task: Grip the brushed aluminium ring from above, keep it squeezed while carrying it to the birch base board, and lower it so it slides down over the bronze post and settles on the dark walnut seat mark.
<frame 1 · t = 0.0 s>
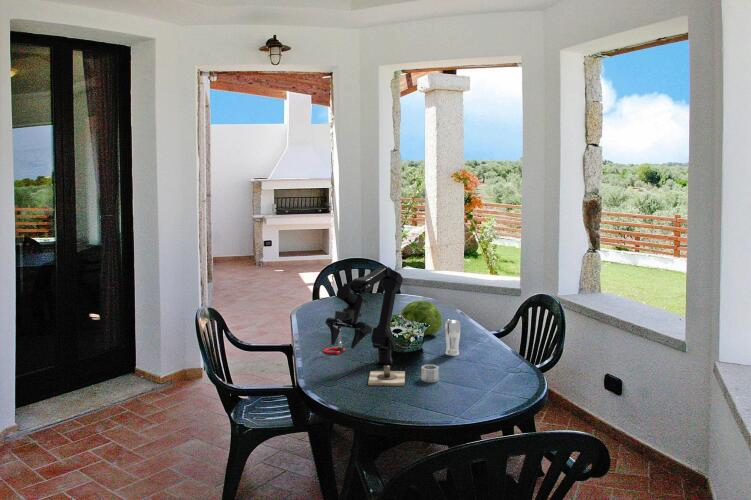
hand: (342, 346, 234), 15 cm above the table, tool tilted 35°, fingers open, 9 cm apart
birch base board: (387, 379, 241), on the table
aluminium ring: (430, 379, 240), on the table
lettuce: (418, 334, 306), on the table
tow hook: (333, 352, 279), on the table
beer glass: (452, 354, 273), on the table
bronze post: (387, 371, 240), on the birch base board, point 3 cm above the table
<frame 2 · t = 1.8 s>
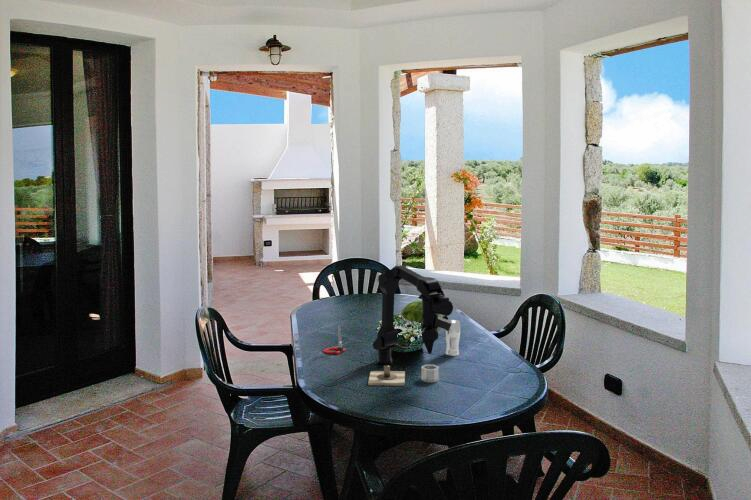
hand: (429, 350, 238), 12 cm above the table, tool pointing down, fingers open, 9 cm apart
nothing on the table moved.
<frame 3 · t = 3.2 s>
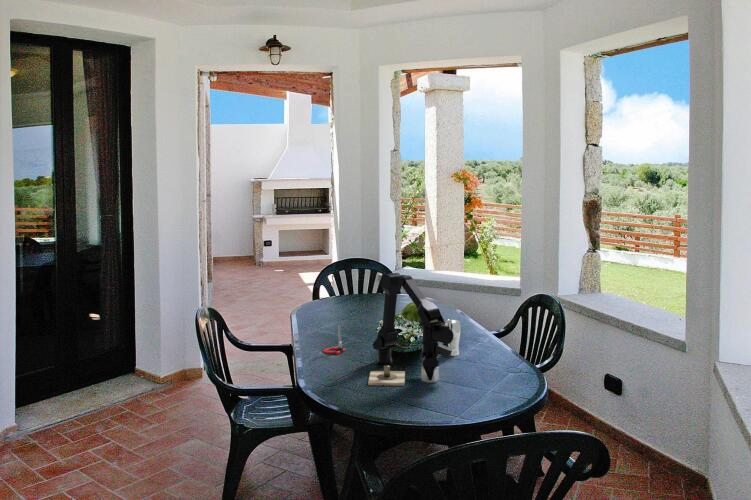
hand: (430, 377, 240), 1 cm above the table, tool pointing down, fingers closed on aluminium ring, 7 cm apart
aluminium ring: (430, 379, 240), on the table, touching gripper
everything else where it was.
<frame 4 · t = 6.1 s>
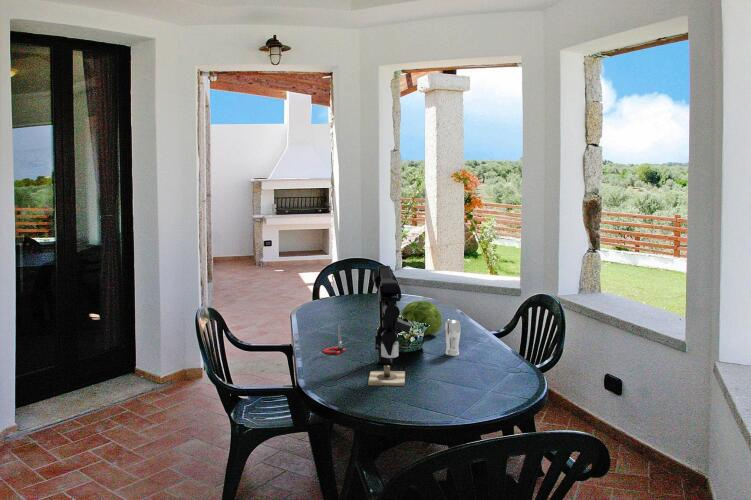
hand: (389, 352, 239), 11 cm above the table, tool pointing down, fingers closed on aluminium ring, 7 cm apart
aluminium ring: (389, 355, 239), point 10 cm above the table, touching gripper
everything else where it was.
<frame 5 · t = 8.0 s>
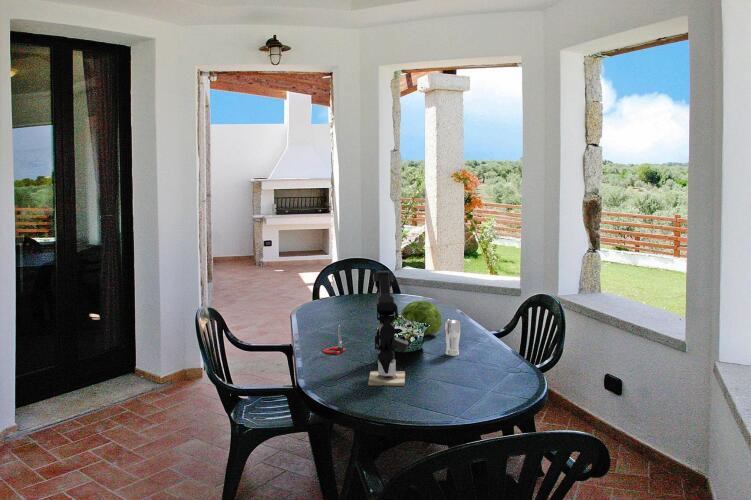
hand: (386, 370, 240), 4 cm above the table, tool pointing down, fingers closed on aluminium ring, 7 cm apart
aluminium ring: (387, 373, 241), point 3 cm above the table, touching gripper
everything else where it was.
when the fingers open (3 cm above the table, at t = 9.2 s): aluminium ring drops 1 cm, resting on birch base board.
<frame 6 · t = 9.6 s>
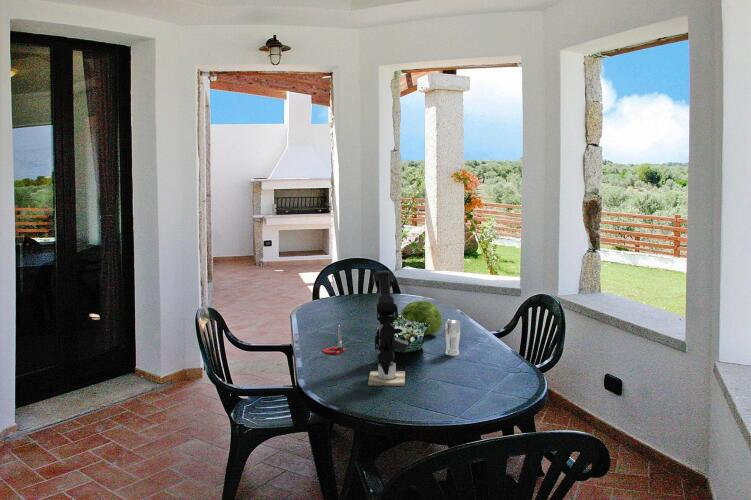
hand: (387, 370, 240), 3 cm above the table, tool pointing down, fingers open, 9 cm apart
aluminium ring: (387, 376, 241), point 1 cm above the table, touching birch base board
everything else where it was.
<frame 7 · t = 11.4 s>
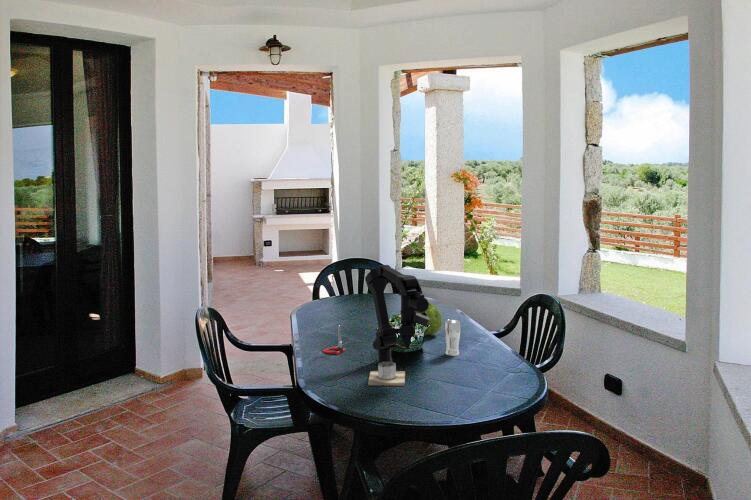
hand: (408, 345, 245), 12 cm above the table, tool pointing down, fingers open, 9 cm apart
nothing on the table moved.
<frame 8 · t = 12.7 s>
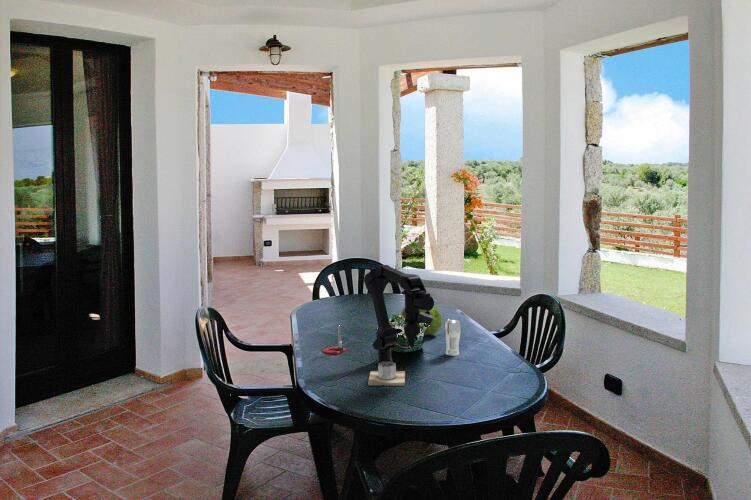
hand: (412, 344, 247), 12 cm above the table, tool pointing down, fingers open, 9 cm apart
nothing on the table moved.
at the end: aluminium ring 0.0 cm off-centre on the bronze post, point 1.1 cm above the bronze post's base; aluminium ring tilted 0°; the gripper is holding nothing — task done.
